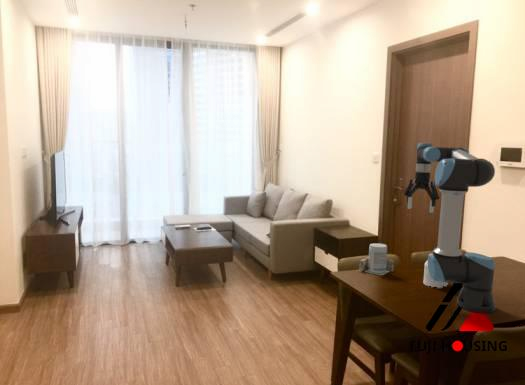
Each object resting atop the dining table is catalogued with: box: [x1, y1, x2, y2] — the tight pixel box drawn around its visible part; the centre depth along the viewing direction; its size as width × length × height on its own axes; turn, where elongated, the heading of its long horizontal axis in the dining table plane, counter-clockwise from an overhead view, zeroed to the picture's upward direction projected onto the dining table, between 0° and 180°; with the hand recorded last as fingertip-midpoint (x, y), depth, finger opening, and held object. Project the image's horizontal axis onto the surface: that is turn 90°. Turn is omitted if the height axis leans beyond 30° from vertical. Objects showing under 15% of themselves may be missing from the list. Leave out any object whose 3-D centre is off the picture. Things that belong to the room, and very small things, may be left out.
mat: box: [364, 269, 390, 276], centre depth 233 cm, size 10×10×1 cm
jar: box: [422, 253, 449, 289], centre depth 214 cm, size 12×10×15 cm
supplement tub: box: [367, 242, 388, 273], centre depth 233 cm, size 10×10×15 cm
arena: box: [358, 256, 395, 273], centre depth 234 cm, size 14×14×6 cm
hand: (420, 210), depth 231 cm, fingers open, 13 cm apart
